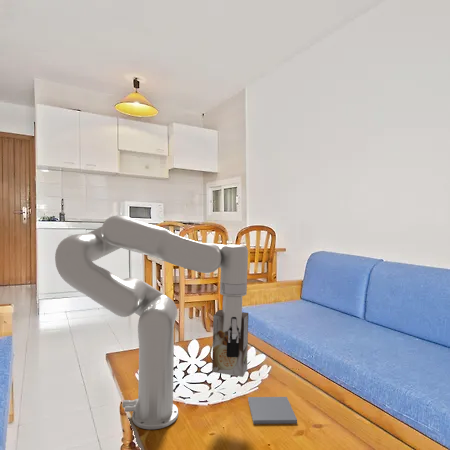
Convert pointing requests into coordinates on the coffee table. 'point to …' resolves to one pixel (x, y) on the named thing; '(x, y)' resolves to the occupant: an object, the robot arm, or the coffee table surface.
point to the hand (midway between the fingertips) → (231, 350)
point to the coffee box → (220, 339)
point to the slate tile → (271, 410)
